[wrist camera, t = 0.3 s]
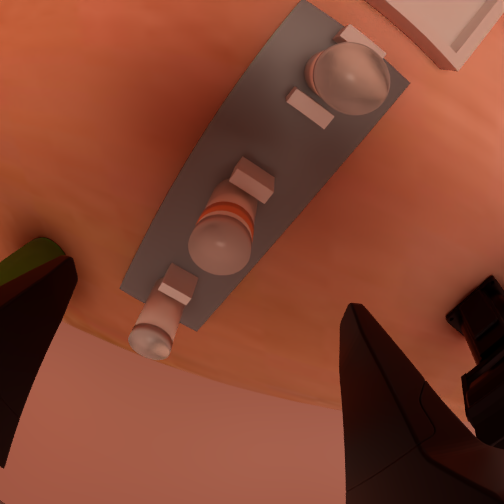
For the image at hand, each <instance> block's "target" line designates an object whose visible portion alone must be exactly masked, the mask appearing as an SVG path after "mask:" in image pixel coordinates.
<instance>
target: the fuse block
mask: <svg viewBox="0 0 504 504" xmlns="http://www.w3.org/2000/svg"><path fill="white" fill-rule="evenodd" d="M343 42H356V43H360V44H363V45H366V46H368V47H370V48H371V49H373V50H374V51H376V52H377V53H378V54H379V55H380V56H381V58H382V59H383V60H384V62H385V63H386V66H387V68H388V71H389V74H390V89H389V93H388V95H387V97H386V99H385V101H384V102H383V103H382V104H381V105H380V106H379V107H378V108H377V109H376V110H374V111H372V112H370V113H367V114H364V115H348V114H344V113H341V112H339V111H337V110H335V109H333V108H332V107H330V106H329V105H328V104H327V103H326V102H324V101H323V99H322V98H320V97H319V96H318V95H316V94H315V93H314V92H313V91H312V90H311V89H310V88H309V87H308V85H307V83H306V80H305V76H304V70H305V66H306V63H307V62H308V60H309V59H310V58H311V57H312V56H313V55H314V54H316V53H318V52H320V51H323V50H326V49H327V48H329V47H331V46H333V45H336V44H339V43H343ZM385 55H386V53H385V52H384V51H383V50H382V49H381V48H379V47H378V46H377V45H376V44H375V43H373V42H372V41H371V40H370V39H369V38H367V37H366V36H365V35H364V34H362V33H361V32H360V31H359V30H357V29H356V28H355V27H353V26H352V25H351V24H349V25H347V26H345V27H344V26H343V25H341V24H340V23H339V22H337V21H336V20H334V19H333V18H332V17H330V16H329V15H327V14H326V13H324V12H323V11H321V10H320V9H318V8H317V7H315V6H314V5H312V4H311V3H309V2H308V1H306V0H301V1H300V2H299V3H298V4H297V5H296V7H295V8H294V9H293V10H292V11H291V13H290V14H289V15H288V16H287V17H286V19H285V20H284V21H283V22H282V24H281V25H280V26H279V27H278V29H277V30H276V31H275V32H274V34H273V35H272V36H271V37H270V39H269V40H268V41H267V43H266V44H265V45H264V47H263V48H262V49H261V51H260V52H259V53H258V54H257V56H256V57H255V59H254V60H253V61H252V63H251V64H250V65H249V67H248V68H247V69H246V71H245V72H244V74H243V75H242V76H241V78H240V79H239V81H238V82H237V84H236V85H235V86H234V88H233V89H232V91H231V92H230V94H229V95H228V97H227V98H226V99H225V101H224V102H223V104H222V105H221V107H220V108H219V110H218V111H217V113H216V114H215V116H214V118H213V119H212V121H211V122H210V124H209V125H208V127H207V128H206V130H205V132H204V133H203V135H202V136H201V138H200V140H199V141H198V143H197V144H196V146H195V148H194V149H193V151H192V153H191V154H190V156H189V157H188V159H187V161H186V162H185V164H184V166H183V168H182V169H181V171H180V173H179V174H178V176H177V178H176V180H175V181H174V183H173V185H172V187H171V188H170V190H169V192H168V194H167V196H166V197H165V199H164V201H163V203H162V205H161V206H160V208H159V210H158V212H157V214H156V216H155V218H154V219H153V221H152V223H151V225H150V227H149V229H148V231H147V233H146V235H145V237H144V239H143V241H142V243H141V245H140V247H139V249H138V251H137V253H136V255H135V257H134V259H133V261H132V263H131V265H130V267H129V269H128V271H127V273H126V275H125V278H124V280H123V282H122V284H121V286H120V288H119V289H121V290H122V291H124V292H126V293H127V294H129V295H131V296H133V297H134V298H136V299H138V300H140V301H141V302H143V303H146V301H147V299H148V296H149V294H150V292H151V290H152V288H153V286H154V284H155V282H156V281H157V280H158V279H160V278H162V277H164V278H163V280H162V282H161V284H160V286H159V288H158V290H159V291H161V292H163V293H165V294H166V295H168V296H170V297H172V298H174V299H175V300H177V301H179V302H181V303H183V304H184V305H185V307H184V310H183V313H182V316H181V319H180V323H181V324H183V325H185V326H187V327H189V328H191V329H193V330H195V331H198V329H199V328H200V327H201V326H202V325H203V324H204V323H205V322H206V320H207V319H208V318H209V317H210V316H211V315H212V314H213V312H214V311H215V310H216V309H217V308H218V307H219V306H220V305H221V303H222V302H223V301H224V300H225V299H226V298H227V297H228V295H229V294H230V293H231V292H232V291H233V290H234V289H235V287H236V286H237V285H238V284H239V283H240V282H241V281H242V279H243V278H244V277H245V276H246V275H247V274H248V273H249V271H250V270H251V269H252V268H253V267H254V266H255V265H256V263H257V262H258V261H259V260H260V259H261V258H262V257H263V255H264V254H265V253H266V252H267V251H268V250H269V248H270V247H271V246H272V245H273V244H274V243H275V242H276V240H277V239H278V238H279V237H280V236H281V235H282V233H283V232H284V231H285V230H286V229H287V228H288V227H289V225H290V224H291V223H292V222H293V221H294V220H295V218H296V217H297V216H298V215H299V214H300V213H301V211H302V210H303V209H304V208H305V207H306V206H307V205H308V203H309V202H310V201H311V200H312V199H313V198H314V196H315V195H316V194H317V193H318V192H319V191H320V189H321V188H322V187H323V186H324V185H325V184H326V182H327V181H328V180H329V179H330V178H331V177H332V175H333V174H334V173H335V172H336V171H337V169H338V168H339V167H340V166H341V165H342V164H343V162H344V161H345V160H346V159H347V158H348V157H349V155H350V154H351V153H352V152H353V151H354V150H355V148H356V147H357V146H358V145H359V144H360V142H361V141H362V140H363V139H364V138H365V137H366V135H367V134H368V133H369V132H370V131H371V129H372V128H373V127H374V126H375V125H376V124H377V122H378V121H379V120H380V119H381V118H382V116H383V115H384V114H385V113H386V112H387V110H388V109H389V108H390V107H391V106H392V104H393V103H394V102H395V101H396V100H397V99H398V97H399V96H400V95H401V94H402V93H403V91H404V90H405V89H406V88H407V87H408V85H409V84H410V82H409V81H408V80H406V79H405V78H404V77H403V76H402V75H401V74H400V73H399V72H398V71H397V70H396V69H395V68H394V67H393V66H392V65H390V64H389V63H388V62H387V61H386V60H385V59H384V56H385ZM229 178H230V179H229ZM225 179H229V181H230V182H231V183H233V184H234V185H236V186H237V187H239V188H241V189H242V190H244V191H245V192H247V193H248V194H250V195H251V196H253V197H255V198H256V199H258V204H257V210H256V216H255V222H254V235H253V241H252V247H251V254H250V258H249V261H248V263H247V264H246V266H245V267H244V268H243V269H241V270H240V271H238V272H236V273H234V274H231V275H215V274H211V273H208V272H206V271H204V270H203V269H201V268H200V267H199V266H197V265H196V264H195V262H194V261H193V260H192V258H191V256H190V254H189V250H188V242H189V238H190V236H191V234H192V232H193V230H194V228H195V226H196V223H197V221H198V219H199V217H200V215H201V213H202V212H203V210H204V209H205V207H206V205H207V203H208V201H209V199H210V197H211V195H212V193H213V191H214V189H215V187H216V186H217V185H218V184H219V183H220V182H221V181H223V180H225Z"/></svg>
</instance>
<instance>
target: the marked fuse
mask: <svg viewBox="0 0 504 504" xmlns="http://www.w3.org/2000/svg"><path fill="white" fill-rule="evenodd" d="M229 179H230V178H229ZM229 179H225V180H223V181H221V182H220V183H219V184H218V185H217V186H216V187H215V189H214V191H213V193H212V195H211V197H210V199H209V201H208V203H207V205H206V207H205V209H204V210H203V212H202V213H201V215H200V217H199V219H198V221H197V223H196V226H195V228H194V230H193V232H192V234H191V236H190V238H189V242H188V250H189V254H190V256H191V258H192V260H193V261H194V262H195V264H196V265H197V266H199V267H200V268H201V269H203V270H204V271H206V272H208V273H211V274H215V275H231V274H234V273H236V272H238V271H240V270H241V269H243V268H244V267H245V266H246V264H247V263H248V261H249V258H250V254H251V247H252V241H253V235H254V222H255V216H256V210H257V204H258V199H256V198H255V197H253V196H251V195H250V194H248V193H247V192H245V191H244V190H242V189H241V188H239V187H237V186H236V185H234V184H233V183H231V182H230V181H229Z"/></svg>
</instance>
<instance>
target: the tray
mask: <svg viewBox="0 0 504 504" xmlns="http://www.w3.org/2000/svg"><path fill="white" fill-rule="evenodd" d="M365 1H366V2H368V3H369V4H370V5H371V6H373V7H374V8H375V9H377V10H378V11H379V12H380V13H381V14H383V15H384V16H385V17H386V18H388V19H389V20H390V21H391V22H392V23H393V24H395V25H396V26H397V27H398V28H399V29H400V30H401V31H402V32H404V33H405V34H406V35H407V36H408V37H409V38H410V39H411V40H412V41H413V42H414V43H415V44H416V45H417V46H418V47H419V48H420V49H421V50H422V51H423V52H424V53H425V54H426V55H427V56H428V57H429V58H430V59H431V60H432V61H433V62H434V63H435V64H436V65H437V66H438V67H439V68H440V69H444V70H452V71H459V70H460V68H461V67H462V66H463V65H464V63H465V62H466V61H467V60H468V58H469V57H470V56H471V55H472V53H473V52H474V51H475V49H476V48H477V47H478V46H479V44H480V43H481V42H482V40H483V39H484V38H485V36H486V35H487V34H488V33H489V31H490V30H491V29H492V27H493V26H494V25H495V23H496V22H497V21H498V19H499V18H500V17H501V15H502V14H503V13H504V0H365Z"/></svg>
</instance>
